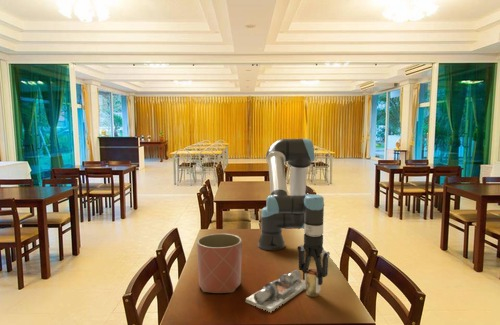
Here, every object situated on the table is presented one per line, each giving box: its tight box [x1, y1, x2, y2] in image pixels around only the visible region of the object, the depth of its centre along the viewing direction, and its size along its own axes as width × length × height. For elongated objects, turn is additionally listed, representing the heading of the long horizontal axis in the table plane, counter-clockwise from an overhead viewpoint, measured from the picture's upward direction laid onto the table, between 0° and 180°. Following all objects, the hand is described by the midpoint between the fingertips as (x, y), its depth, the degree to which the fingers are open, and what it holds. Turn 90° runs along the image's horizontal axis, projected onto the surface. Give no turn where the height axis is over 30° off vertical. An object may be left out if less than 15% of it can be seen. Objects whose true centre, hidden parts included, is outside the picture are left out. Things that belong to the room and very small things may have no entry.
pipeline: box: [245, 269, 305, 314], centre depth 137 cm, size 28×12×6 cm, turn 140°
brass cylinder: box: [305, 268, 319, 298], centre depth 137 cm, size 5×5×10 cm
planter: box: [196, 233, 243, 294], centre depth 144 cm, size 19×19×20 cm
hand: (312, 289), depth 137 cm, fingers closed on brass cylinder, 4 cm apart
